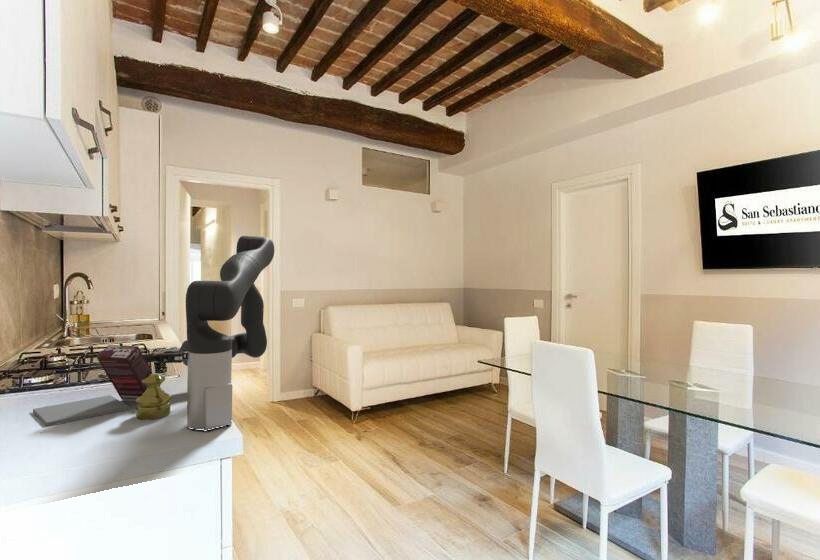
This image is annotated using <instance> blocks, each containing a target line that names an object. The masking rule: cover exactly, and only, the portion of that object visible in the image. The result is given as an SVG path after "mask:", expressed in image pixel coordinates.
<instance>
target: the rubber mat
mask: <svg viewBox="0 0 820 560" xmlns="http://www.w3.org/2000/svg"><path fill="white" fill-rule="evenodd" d="M126 410H129V405H127V404H126V403H124V402H122V400H119V399H118V398H116V397H114V396H112V395H111V394H109V395H103V396H98V397H92V398H87V399H79V400H77V401H75V400H74V401H70V402H65V403H59V404H53V405H48V406H41V407H37V408H32V412H33V414H34V415H35V416H36V417H37V418H38V419H40V421H41V422H42V423H45V424H46V425H47V426H46V425H45V424H44V425H45V426H46V427H49V426H48V425H50V426H53V425H54V424H55V425H59V423H60V424H65V423H69V422H74V421H78V420H84V419H89V418H93V417H94V418H95V417H97V416H102V415H108V414H112V413H117V412H121V411H126Z"/></svg>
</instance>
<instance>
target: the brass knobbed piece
mask: <svg viewBox="0 0 820 560" xmlns="http://www.w3.org/2000/svg"><path fill="white" fill-rule="evenodd" d="M165 381H166V377H165V376H164V375H161V374H158V373H152V374H150V375H149V376H147V377H145V378H143V379H142V383H144V384H146V386H147V390H146V391H145V392H143V394H142V395H140V396H139V397H138V398H137V399H136V401H135V405H137V406H136V408H135V418H136V419H138V420H143V419H149V420H156V419H155V418H157V419H161V418H163V416H164V417H166V416H168V415H169V414H171V411H172V410H171V405H172V404H171V403H170V402H171V399H172V396H171V394H170V393H168V392H166V391H165V390H164V389H162V387H161V385H162V383H163V382H165ZM160 417H161V418H160Z"/></svg>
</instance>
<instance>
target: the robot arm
mask: <svg viewBox="0 0 820 560" xmlns="http://www.w3.org/2000/svg"><path fill="white" fill-rule="evenodd" d="M274 255H275V243H274V241H273V240H272V239H271V238H269V237H266V236H253V235H241V236H240V237H239V238H238V240H237V243H236V251H235V253H234V254H233V255H232V256H230V257H229V258H228V259H227V260H226V261H225V262H224V263H223V264H222V266H221V268H220V271H219V278H220V280H194V281H192V282H191V283H190V284H189V285H188V286H187V289H186V292H185V316H186V317H185V320H186V321H185V322H186V323H185V324H186V340H185V341H183V342H182V343H181V347H177V346H172V347H169V348H166V347H162V348H159V349H154V350H151V352H150V353H142V355H143V357H144V359H145V361H146V363H147V364H149V363H158V364H172V363H173V364H177V363H178V364H181V363H183V365H185V366H186V367H187V387H186V388H187V393H186V394H187V395H186V396H187V397H186V398H187V401H186V403H187V405H186V406H187V407H186V409H187V411H186V412H187V414H186V415H187V416H186V427H187V426H188V427H190V428H193V429H204V430H208V429H212V428H216V427H221V426H225V427H227V426H226V425H229V426H231V425H232V424H233V384H232V367H233V366H232V360H233V359H232V358H235V357H236V356H237V355H238V354H240V355H241V354H244V355H246V356H249V357H250V358H260V357H261V356H263V354H265V352H266V350H267V346H268V339H267V332H266V328H265V324H264V316H265V315H264V309H265V306H264V300H263V296H262V294H261V293H260V291H259V290H258V288H257V286H256V284H255V282H256V280H257V279H258V277H259V276H260V274H261V273H262V272H263V270H265V269H266V268H267V267H268V266H269V265H270V264H271V263H272V261H273V259H274ZM239 310H240V323H241V327H242V328H244V330H245V332H242V333H237V334H234V335H231V336H229V335H227V334H225V333H221V332H219V331H217V330H215V329H213V328H212V327H211V326H210V324H209V321H211V322H214V321H215V322H220V321H221V322H222V321H223V322H224V321H230V320H232V319H234V318H235V316H236V315H237V313H239ZM231 420H232V421H231ZM188 427H187V428H188Z"/></svg>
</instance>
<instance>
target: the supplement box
mask: <svg viewBox="0 0 820 560" xmlns="http://www.w3.org/2000/svg"><path fill="white" fill-rule="evenodd" d="M142 354H143V353H142V351H141V349H140V347H139V346H138V345H137V346H135V345H109V344H108V345H107V346H106V347H105V348H104V349H103V350H101V352H100V353H99V354H98V355H97V356H96V359H97V361H98V363H99V364H100V365H101V368H102V370H103V371H104V372H105V373H106V375H107V377H108V379H109V381H110V382H111V384H112V386H113V388H114V389H115V391H116V393H117V394H118V396H119V397H120V400H121V401H128V402H129V401H130V402H132V401H133V402H136V399H137V398H138V397H139V396H140V395H142V394H143V392H145V391H146V390H147V386H146V384H144V383H142V379H143V378H145V377H147V376H149V375H150V374H153V373H152V371H151V368H150V366H149V364H148V363H146V361H145V359H144V357H143V355H142Z"/></svg>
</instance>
